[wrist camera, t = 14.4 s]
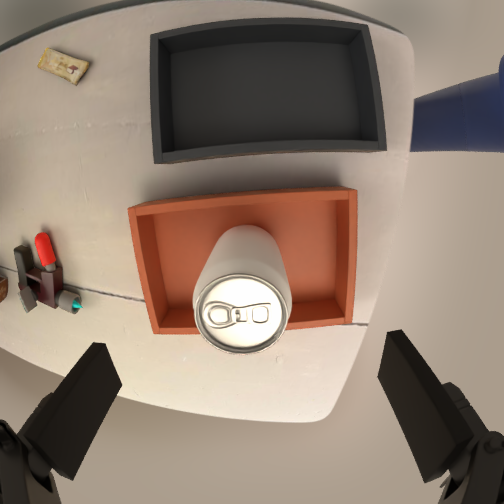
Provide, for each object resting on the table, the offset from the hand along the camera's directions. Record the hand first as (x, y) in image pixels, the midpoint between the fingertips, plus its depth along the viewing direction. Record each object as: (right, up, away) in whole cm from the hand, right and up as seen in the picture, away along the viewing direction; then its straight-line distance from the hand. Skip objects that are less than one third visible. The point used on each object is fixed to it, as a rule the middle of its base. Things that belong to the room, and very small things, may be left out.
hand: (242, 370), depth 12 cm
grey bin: (+2, +20, +12) cm, 24 cm away
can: (0, +5, +16) cm, 17 cm away
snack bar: (-22, +27, +10) cm, 36 cm away
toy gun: (-25, +3, +17) cm, 31 cm away
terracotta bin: (0, +5, +16) cm, 17 cm away
